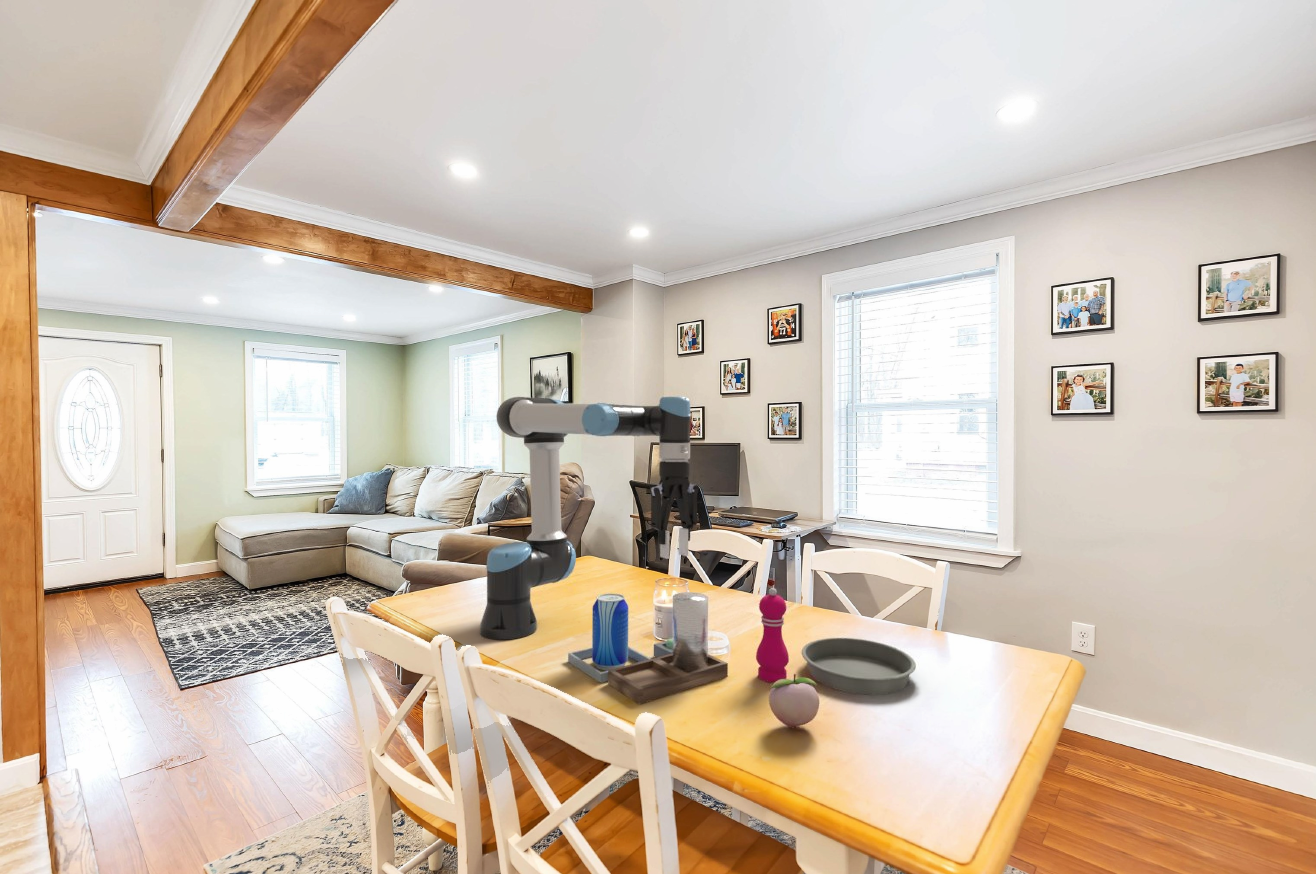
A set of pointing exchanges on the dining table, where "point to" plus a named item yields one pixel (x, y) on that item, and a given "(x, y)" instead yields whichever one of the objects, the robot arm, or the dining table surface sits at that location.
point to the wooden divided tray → (662, 677)
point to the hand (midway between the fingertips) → (674, 556)
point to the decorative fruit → (794, 701)
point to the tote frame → (591, 671)
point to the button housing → (661, 649)
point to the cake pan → (858, 665)
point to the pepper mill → (772, 639)
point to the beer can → (610, 632)
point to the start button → (669, 643)
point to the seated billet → (690, 631)
